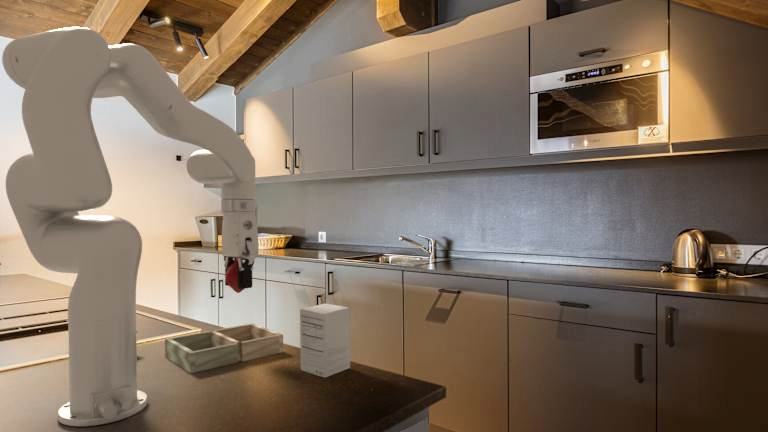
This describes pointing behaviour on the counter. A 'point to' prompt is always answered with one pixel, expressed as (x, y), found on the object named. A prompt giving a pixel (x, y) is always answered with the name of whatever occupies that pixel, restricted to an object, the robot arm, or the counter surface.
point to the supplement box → (325, 339)
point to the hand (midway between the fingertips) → (238, 285)
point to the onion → (233, 276)
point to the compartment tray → (222, 347)
